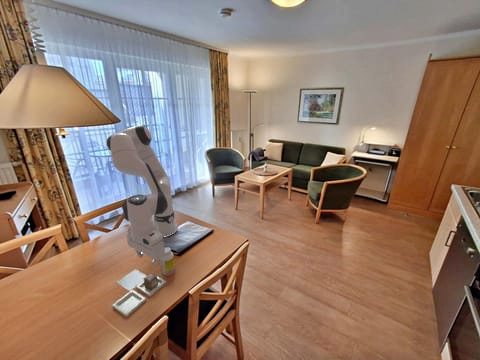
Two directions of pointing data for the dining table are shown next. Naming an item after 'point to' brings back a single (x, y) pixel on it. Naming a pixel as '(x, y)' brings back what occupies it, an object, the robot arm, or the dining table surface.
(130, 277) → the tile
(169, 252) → the supplement bottle
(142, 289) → the tray middle
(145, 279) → the letter cube
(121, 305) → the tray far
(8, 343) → the dining table surface
